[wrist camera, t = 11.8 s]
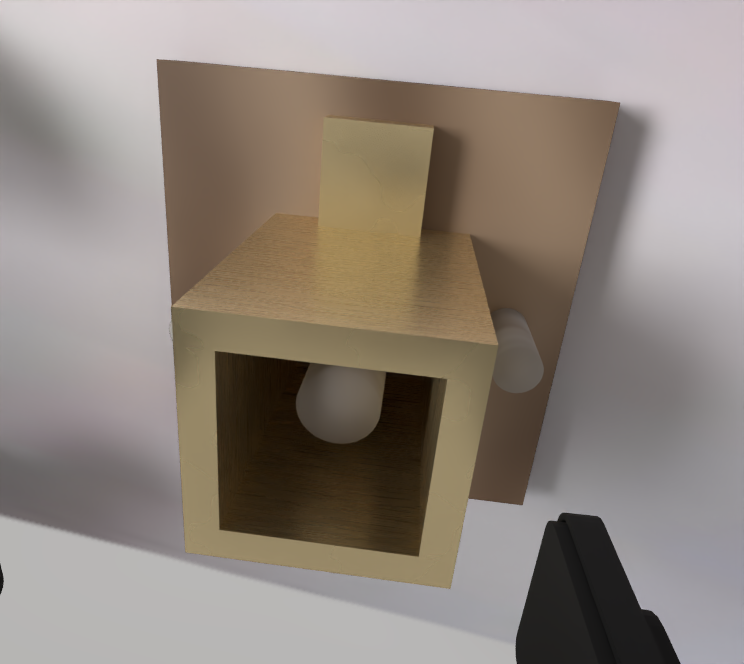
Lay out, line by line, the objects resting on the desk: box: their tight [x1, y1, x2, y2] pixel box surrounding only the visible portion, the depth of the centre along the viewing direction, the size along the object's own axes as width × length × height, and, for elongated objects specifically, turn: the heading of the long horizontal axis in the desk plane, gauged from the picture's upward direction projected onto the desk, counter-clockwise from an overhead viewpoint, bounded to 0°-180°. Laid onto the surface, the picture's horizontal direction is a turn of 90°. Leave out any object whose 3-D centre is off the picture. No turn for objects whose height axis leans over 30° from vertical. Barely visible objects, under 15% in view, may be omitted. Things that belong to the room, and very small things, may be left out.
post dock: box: [157, 59, 620, 505], centre depth 17 cm, size 13×14×8 cm
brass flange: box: [171, 115, 498, 589], centre depth 15 cm, size 12×6×8 cm, turn 175°
